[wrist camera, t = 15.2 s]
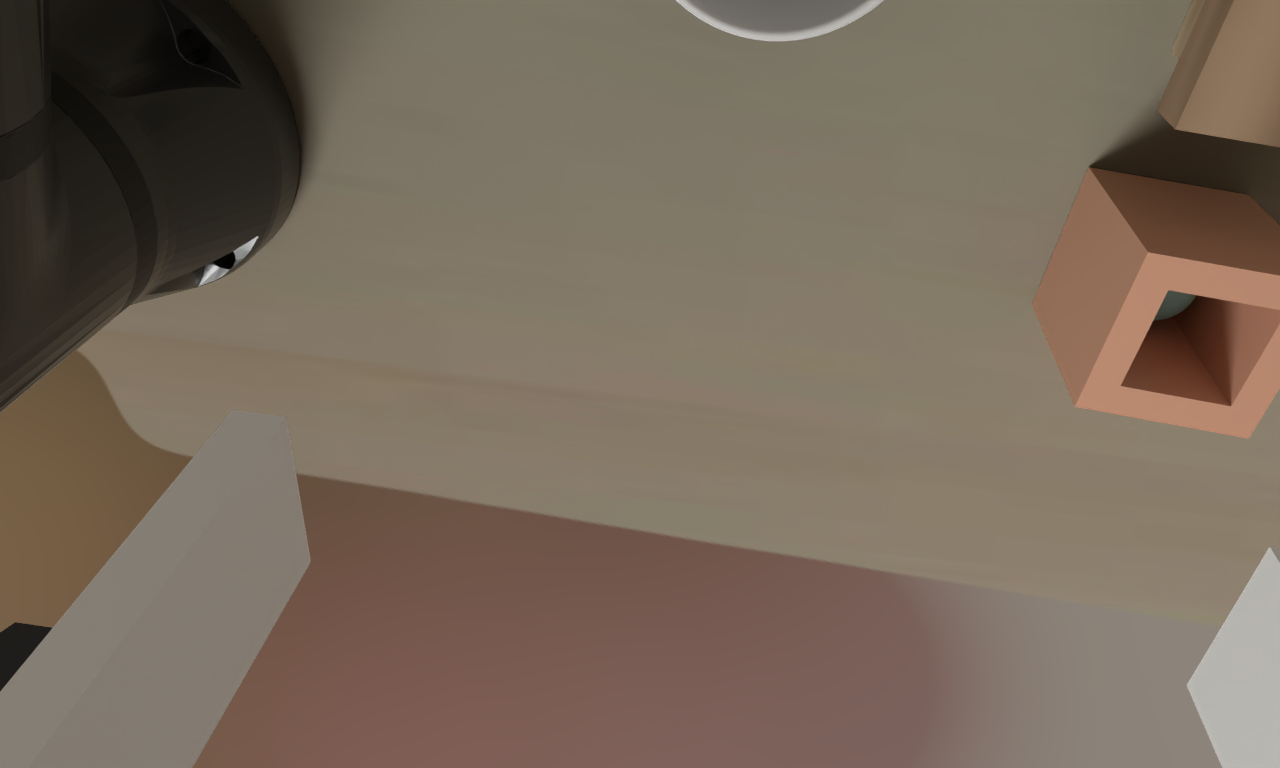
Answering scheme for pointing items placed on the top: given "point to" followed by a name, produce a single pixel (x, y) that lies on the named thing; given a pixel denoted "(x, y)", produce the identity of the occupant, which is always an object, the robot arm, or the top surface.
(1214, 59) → the lid
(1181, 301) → the ball
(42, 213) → the robot arm
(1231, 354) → the tan hollow square block
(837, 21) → the mug
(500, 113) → the top surface
